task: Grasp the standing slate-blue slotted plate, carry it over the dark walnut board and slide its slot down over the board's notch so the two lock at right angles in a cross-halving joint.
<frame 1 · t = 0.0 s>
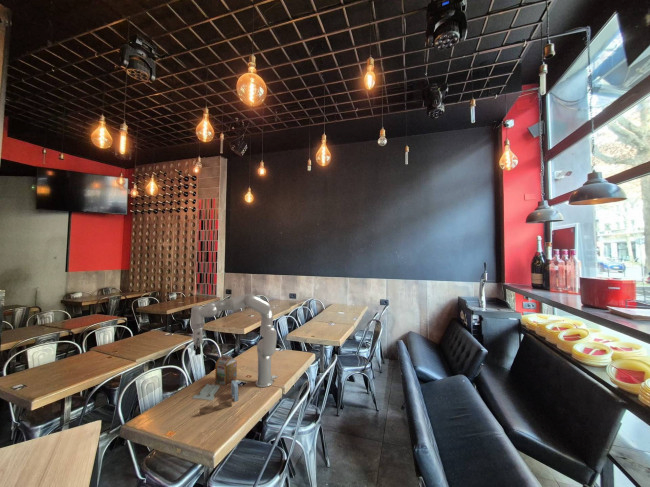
hand: (197, 352, 168), 31 cm above the table, fingers open, 9 cm apart
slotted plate: (234, 397, 171), on the table
walnut board: (215, 410, 157), on the table
metal bracket: (208, 395, 176), on the table
milk carton: (226, 381, 194), on the table
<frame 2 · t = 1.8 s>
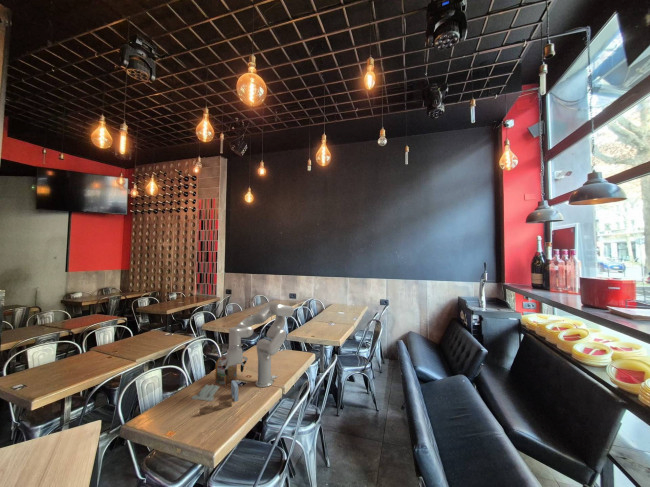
hand: (234, 373, 172), 16 cm above the table, fingers open, 9 cm apart
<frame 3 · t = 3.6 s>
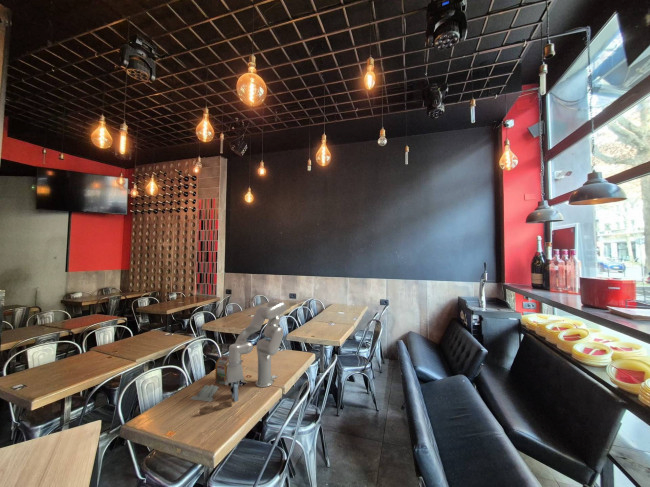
hand: (234, 391, 172), 4 cm above the table, fingers closed on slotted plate, 2 cm apart
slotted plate: (234, 397, 171), on the table, touching gripper
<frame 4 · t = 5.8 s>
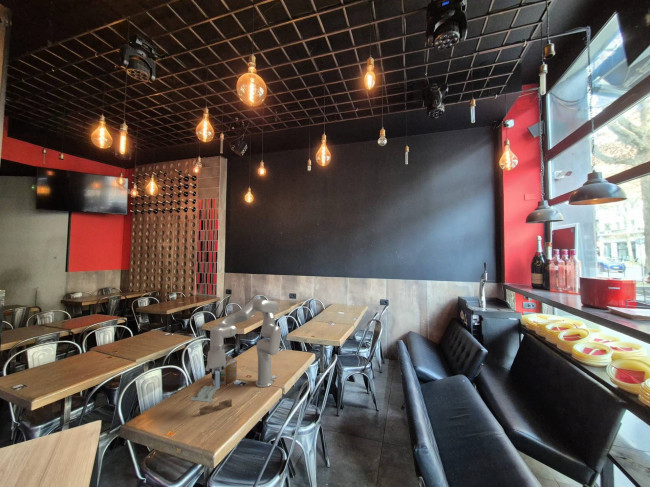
hand: (216, 378, 158), 19 cm above the table, fingers closed on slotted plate
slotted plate: (216, 385, 158), point 15 cm above the table, touching gripper
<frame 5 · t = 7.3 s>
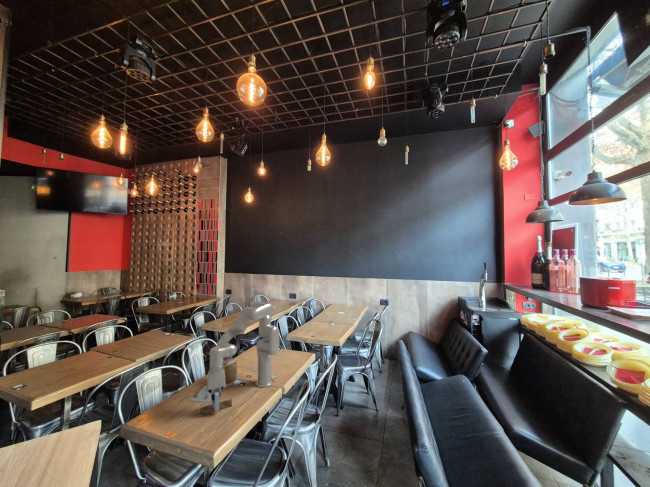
hand: (215, 399, 157), 7 cm above the table, fingers closed on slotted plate, 2 cm apart
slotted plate: (215, 406, 157), point 2 cm above the table, touching gripper
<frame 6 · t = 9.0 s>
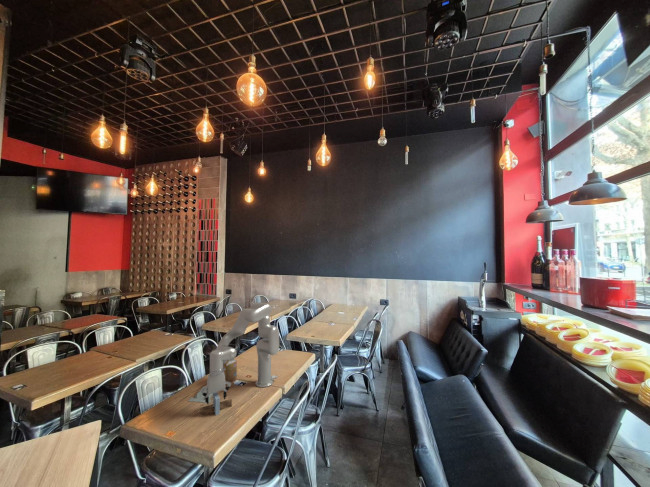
hand: (216, 400, 157), 6 cm above the table, fingers open, 9 cm apart
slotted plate: (216, 410, 157), on the table
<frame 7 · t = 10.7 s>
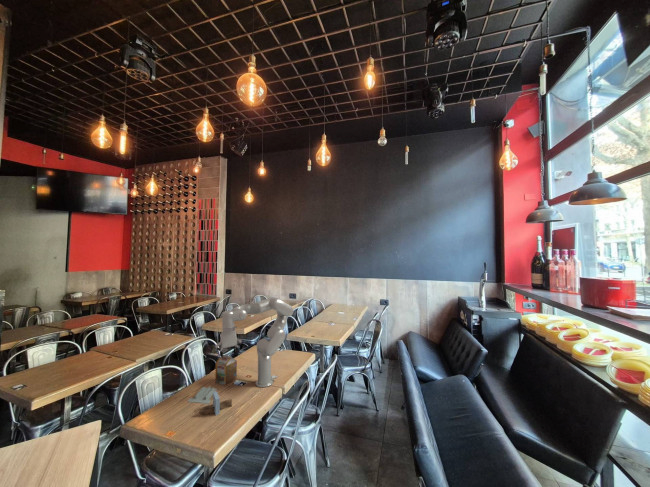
hand: (229, 355, 175), 27 cm above the table, fingers open, 9 cm apart
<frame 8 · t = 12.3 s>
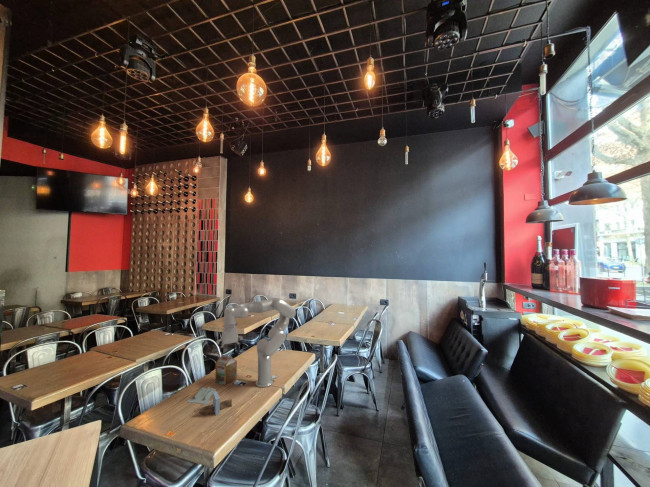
hand: (229, 351, 177), 28 cm above the table, fingers open, 9 cm apart
at the end: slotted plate 0.1 cm off-centre on the walnut board, point 0.0 cm above the walnut board's base; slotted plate tilted 0°; the gripper is holding nothing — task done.
